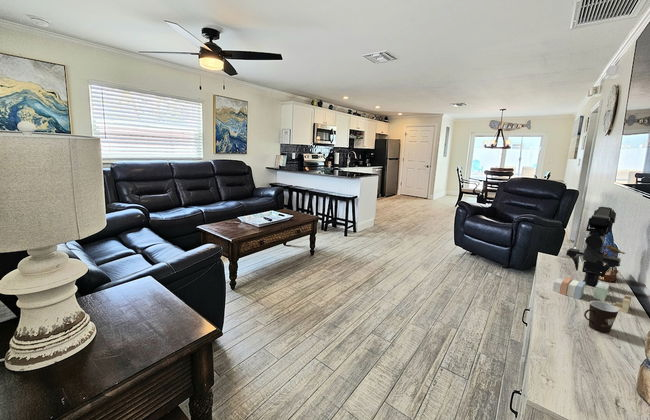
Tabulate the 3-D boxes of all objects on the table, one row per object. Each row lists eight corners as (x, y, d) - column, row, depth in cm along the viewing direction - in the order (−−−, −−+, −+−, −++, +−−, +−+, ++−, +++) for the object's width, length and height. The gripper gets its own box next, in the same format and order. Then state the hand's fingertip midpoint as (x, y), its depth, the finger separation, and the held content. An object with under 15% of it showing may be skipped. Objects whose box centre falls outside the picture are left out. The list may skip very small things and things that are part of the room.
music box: (619, 278, 169) (626, 246, 164) (618, 286, 162) (626, 252, 156) (584, 270, 180) (590, 239, 174) (581, 277, 172) (588, 245, 167)
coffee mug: (606, 324, 123) (611, 302, 121) (618, 336, 115) (624, 313, 113) (572, 319, 127) (576, 298, 125) (582, 330, 119) (586, 308, 117)
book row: (556, 286, 158) (558, 274, 157) (583, 293, 150) (585, 282, 149) (551, 291, 152) (554, 279, 151) (579, 299, 144) (581, 287, 143)
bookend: (615, 304, 141) (618, 292, 139) (629, 307, 137) (631, 295, 136) (613, 309, 136) (616, 297, 134) (627, 313, 132) (630, 301, 131)
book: (596, 292, 152) (598, 281, 151) (607, 295, 149) (609, 284, 148) (593, 297, 146) (595, 286, 145) (604, 301, 143) (606, 289, 142)
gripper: (566, 241, 141) (560, 271, 144) (620, 252, 127) (612, 285, 130) (571, 236, 148) (566, 266, 151) (624, 246, 134) (616, 278, 137)
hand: (589, 273), depth 142 cm, fingers open, 9 cm apart
